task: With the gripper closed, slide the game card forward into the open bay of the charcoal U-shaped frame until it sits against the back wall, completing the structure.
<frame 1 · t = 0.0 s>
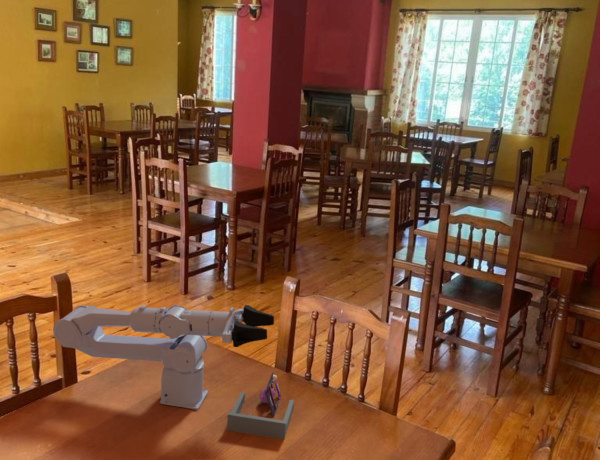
hand: (270, 326, 130), 22 cm above the table, tool horizontal, fingers open, 7 cm apart
frame: (261, 418, 133), on the table
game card: (267, 406, 138), on the table
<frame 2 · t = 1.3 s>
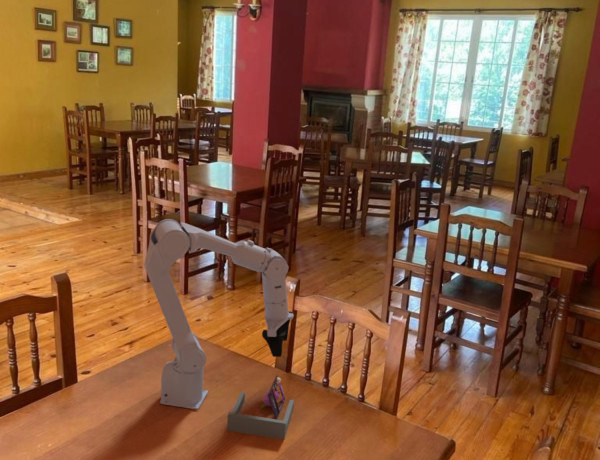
hand: (280, 347, 144), 11 cm above the table, tool pointing down, fingers open, 7 cm apart
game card: (271, 409, 137), on the table
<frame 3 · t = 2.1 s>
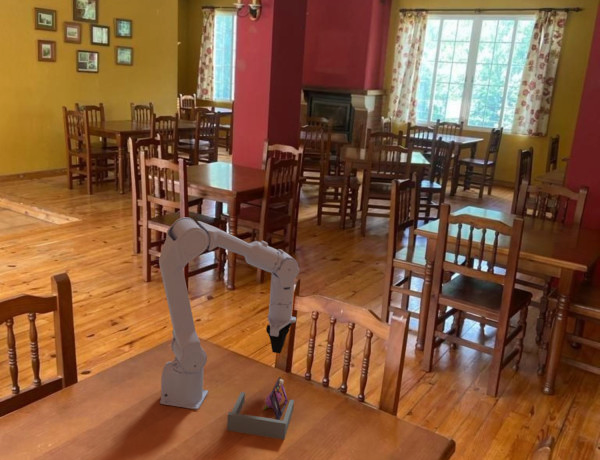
hand: (277, 350, 146), 9 cm above the table, tool pointing down, fingers closed
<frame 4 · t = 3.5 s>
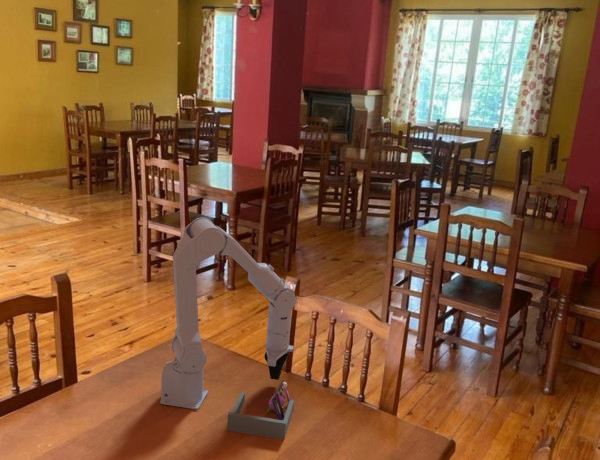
hand: (275, 378, 147), 2 cm above the table, tool pointing down, fingers closed
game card: (276, 413, 136), on the table
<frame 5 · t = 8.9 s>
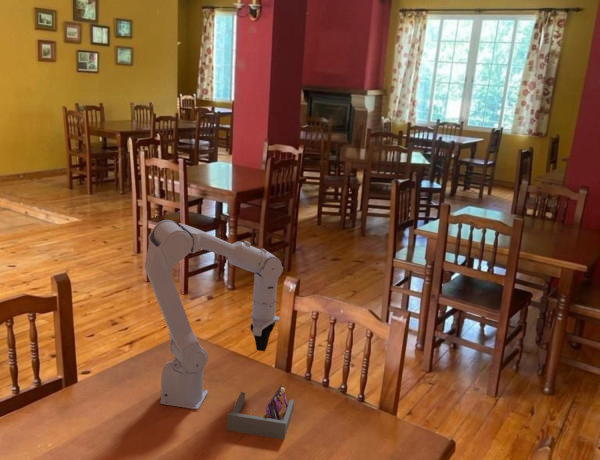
hand: (261, 349, 145), 9 cm above the table, tool pointing down, fingers closed
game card: (273, 419, 133), on the table, touching frame
at the end: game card inside the target area on the frame (3.3 cm from its centre), point 0.0 cm above the frame's base; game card tilted 0°; the gripper is holding nothing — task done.
